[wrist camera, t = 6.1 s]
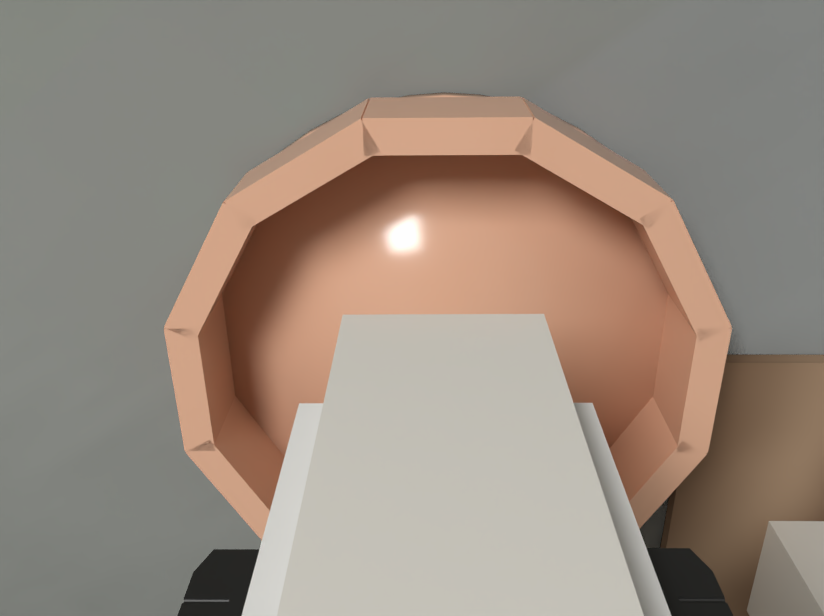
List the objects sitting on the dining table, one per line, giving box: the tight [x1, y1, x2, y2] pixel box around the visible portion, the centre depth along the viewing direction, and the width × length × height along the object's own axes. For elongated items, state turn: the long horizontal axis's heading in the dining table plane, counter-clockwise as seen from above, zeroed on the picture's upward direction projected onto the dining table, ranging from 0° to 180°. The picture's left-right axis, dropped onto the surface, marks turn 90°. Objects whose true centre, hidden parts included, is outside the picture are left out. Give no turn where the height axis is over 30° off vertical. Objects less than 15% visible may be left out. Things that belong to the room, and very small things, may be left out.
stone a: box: [277, 314, 644, 616], centre depth 13 cm, size 4×5×10 cm
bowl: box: [164, 93, 732, 540], centre depth 25 cm, size 17×17×4 cm
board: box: [660, 355, 824, 616], centre depth 31 cm, size 12×19×1 cm, turn 1°
